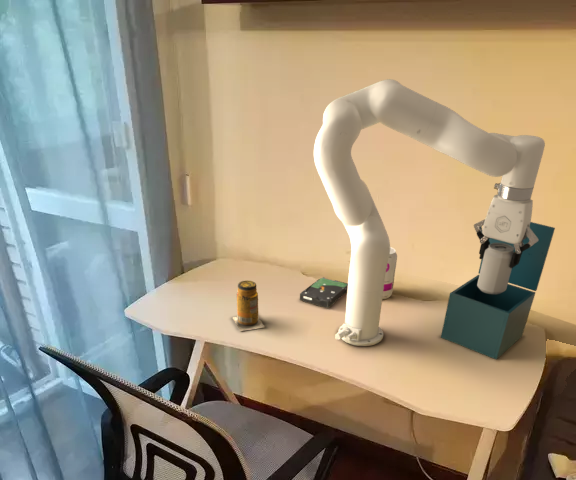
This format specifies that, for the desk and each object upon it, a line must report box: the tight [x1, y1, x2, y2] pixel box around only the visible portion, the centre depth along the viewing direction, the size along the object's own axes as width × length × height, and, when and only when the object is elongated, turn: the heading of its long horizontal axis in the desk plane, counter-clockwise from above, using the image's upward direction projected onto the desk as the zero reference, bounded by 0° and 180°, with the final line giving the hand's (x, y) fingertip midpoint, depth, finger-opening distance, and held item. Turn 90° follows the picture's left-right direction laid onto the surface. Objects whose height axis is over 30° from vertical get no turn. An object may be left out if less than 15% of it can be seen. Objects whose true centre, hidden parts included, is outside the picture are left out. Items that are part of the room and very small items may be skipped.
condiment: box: [232, 280, 265, 331], centre depth 155 cm, size 7×8×12 cm
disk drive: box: [299, 276, 348, 309], centre depth 172 cm, size 10×3×15 cm
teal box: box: [440, 274, 537, 360], centre depth 149 cm, size 17×17×14 cm
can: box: [477, 243, 514, 294], centre depth 141 cm, size 8×8×12 cm
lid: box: [478, 221, 556, 292], centre depth 147 cm, size 17×17×7 cm
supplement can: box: [382, 246, 398, 300], centre depth 170 cm, size 8×8×15 cm
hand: (497, 261), depth 140 cm, fingers closed on can, 7 cm apart
